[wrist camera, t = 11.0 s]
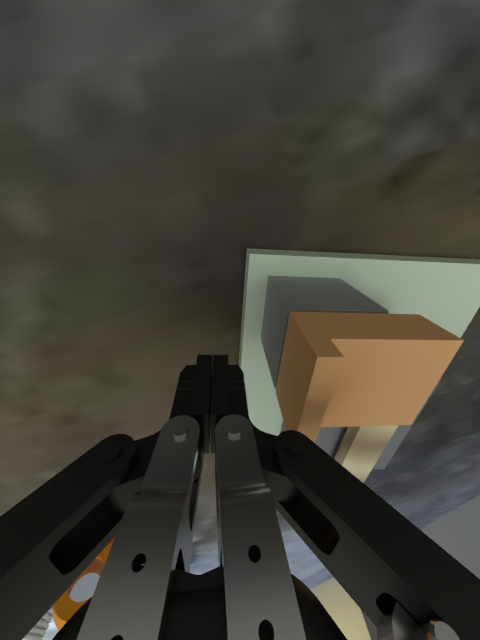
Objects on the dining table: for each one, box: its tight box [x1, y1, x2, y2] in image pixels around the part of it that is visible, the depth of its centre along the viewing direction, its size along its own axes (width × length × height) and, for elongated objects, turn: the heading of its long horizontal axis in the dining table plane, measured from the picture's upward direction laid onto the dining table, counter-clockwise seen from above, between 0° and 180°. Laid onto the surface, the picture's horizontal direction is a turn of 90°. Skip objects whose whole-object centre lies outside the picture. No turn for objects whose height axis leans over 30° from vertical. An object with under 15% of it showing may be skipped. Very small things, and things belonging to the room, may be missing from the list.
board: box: [239, 248, 480, 470], centre depth 21 cm, size 27×20×8 cm
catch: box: [275, 311, 464, 443], centre depth 11 cm, size 6×7×4 cm
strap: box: [334, 425, 399, 483], centre depth 19 cm, size 23×3×2 cm, turn 177°
